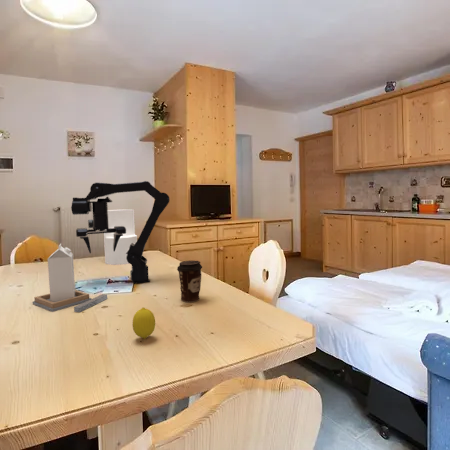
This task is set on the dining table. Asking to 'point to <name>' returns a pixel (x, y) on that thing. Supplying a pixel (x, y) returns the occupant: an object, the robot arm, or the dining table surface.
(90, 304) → the steel rail
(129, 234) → the white tall block
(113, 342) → the dining table surface
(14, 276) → the dining table surface
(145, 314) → the lemon
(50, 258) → the milk carton
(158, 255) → the dining table surface
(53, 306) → the brown and grey tray
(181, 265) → the coffee cup
